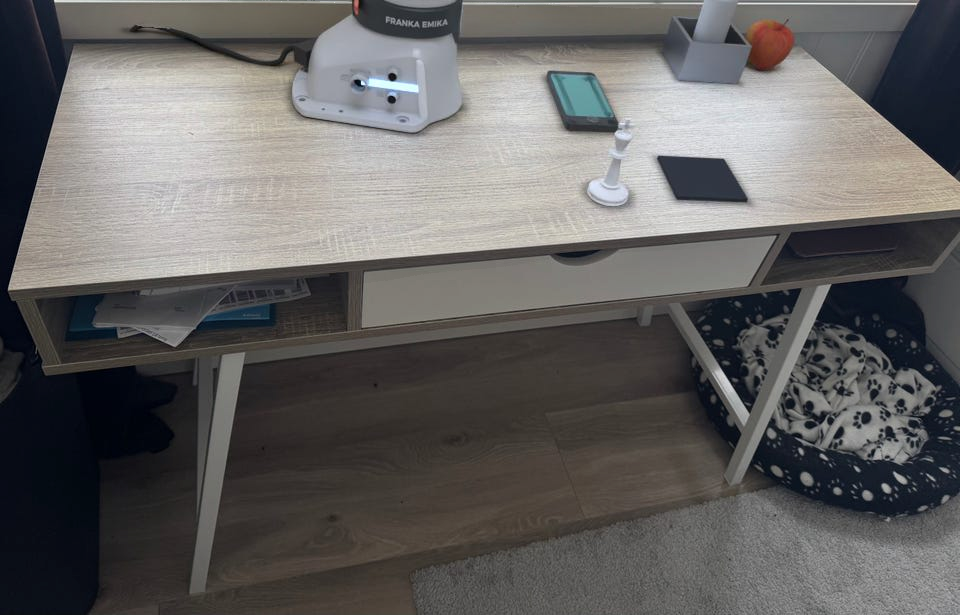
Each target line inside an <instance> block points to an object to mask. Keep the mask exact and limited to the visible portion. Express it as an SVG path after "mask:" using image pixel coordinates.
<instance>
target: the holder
mask: <svg viewBox="0 0 960 615" xmlns="http://www.w3.org/2000/svg"><path fill="white" fill-rule="evenodd" d="M698 18H699V17H697V16H695V17H694V16H683V15H682V16H681V15H672V16H671V18H670V22H669V26H668V29H667V32H666V35H665V39H664V43H663V47H662V50H661V53H662V55H663V57H664V58H665V60H666V62H667V63H668V65H669V67H670V68H671V70H672V72H673V73H674V76H675V77H676V78H677V80H678V81H683V82H684V81H685V82H700V83H715V84H716V83H717V84H731V85H733V84H734V85H738V84H739V82H740V80H741V77H742V74H743V72H744V69H745V67H746V64H747V61H748V56H749V53H750V51H751V48H752V46H751V45H750V44H749V43H748V41H747V40H746V39H745V36H744V35H743V34H742V33H741V31H740V30H739V29H738V27H737V26H735V24H734V23H733V21H731V24H730V27H729V30H728V33H727V35H726V38H725V41H724V43H713V42H699V41H693V40H692V37H693V34H694V31H695V28H696V25H697V22H698Z"/></svg>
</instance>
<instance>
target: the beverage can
mask: <svg viewBox="0 0 960 615" xmlns="http://www.w3.org/2000/svg"><path fill="white" fill-rule="evenodd" d="M739 1H740V0H703V3H702V6H701V9H700V12H699V16H698V17H697V18H698V22H697V25H696V28H695V31H694V34H693V37H692V40H693V41H699V42H713V43H724V41H725V38H726V35H727V33H728V30H729V27H730V24H731V22H733V18H734V15H735V12H736V10H737V7H738V4H739Z"/></svg>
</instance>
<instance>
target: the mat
mask: <svg viewBox="0 0 960 615" xmlns="http://www.w3.org/2000/svg"><path fill="white" fill-rule="evenodd" d="M656 159H657V162H658V164H659V166H660V167H661V170H662V172H663V174H664V177H665V179H666V180H667V183H668V185H669V186H670V188H671V190H672V193H673V195H674V197H675V199H676V200H679V201H680V200H681V201H682V200H683V201H706V202H707V201H708V202H731V203H748V200H749V198H748V196H747V195H746V193H745V191H744V190H743V188H742V186H741V185H740V183H739V181H738V180H737V178H736V176H735V175H734V172H733V171H732V170H731V168H730V166H729V164H728V163H727V161H726V159H725V158H722V157H721V158H719V157H718V158H717V157H697V156H679V155H678V156H676V155H657V157H656Z"/></svg>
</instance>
